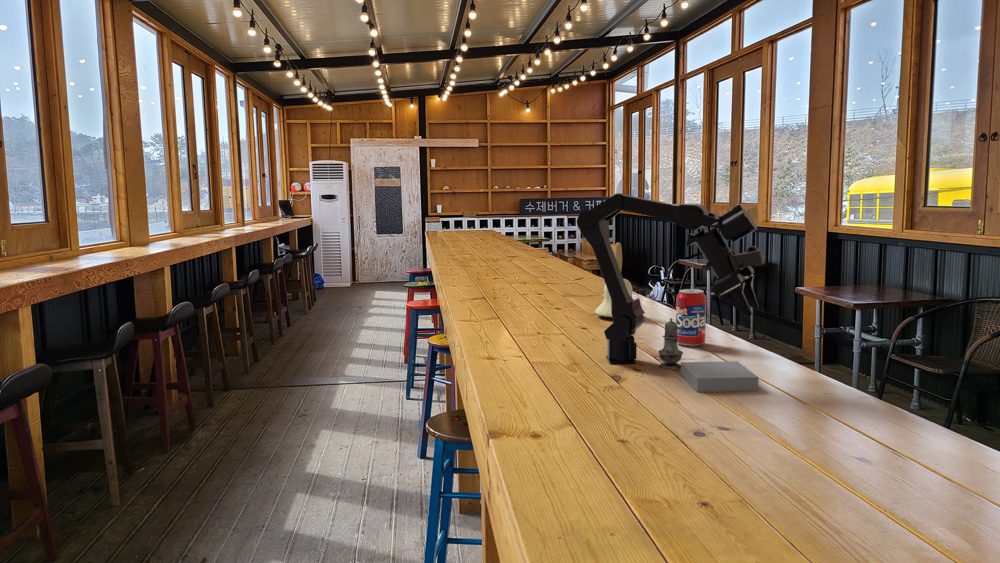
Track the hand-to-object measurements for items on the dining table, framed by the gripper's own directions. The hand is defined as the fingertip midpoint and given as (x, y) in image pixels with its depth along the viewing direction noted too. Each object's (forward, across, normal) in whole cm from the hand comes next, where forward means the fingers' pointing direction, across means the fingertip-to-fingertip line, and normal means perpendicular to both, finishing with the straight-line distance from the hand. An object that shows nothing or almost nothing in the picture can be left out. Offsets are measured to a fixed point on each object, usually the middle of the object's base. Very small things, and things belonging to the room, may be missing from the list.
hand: (753, 311), depth 152 cm
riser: (+9, -9, +13) cm, 18 cm away
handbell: (-14, +53, +51) cm, 75 cm away
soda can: (+2, +24, +25) cm, 35 cm away
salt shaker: (+3, 0, +24) cm, 24 cm away
